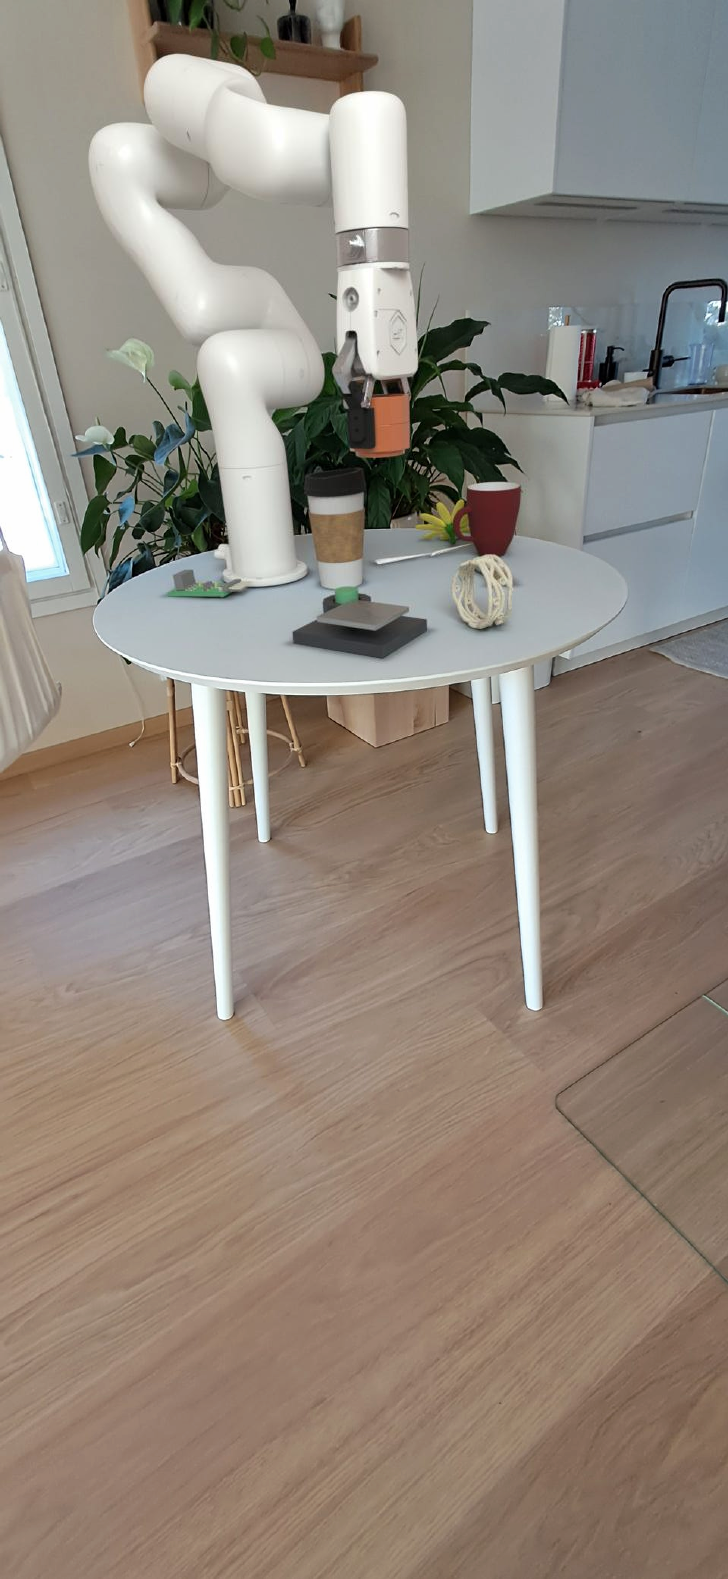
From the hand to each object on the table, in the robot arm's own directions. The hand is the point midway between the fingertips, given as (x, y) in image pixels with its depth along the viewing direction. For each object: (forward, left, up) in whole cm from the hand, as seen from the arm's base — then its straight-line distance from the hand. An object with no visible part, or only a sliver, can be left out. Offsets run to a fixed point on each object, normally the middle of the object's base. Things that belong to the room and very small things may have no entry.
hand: (379, 442), depth 87 cm
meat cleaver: (+7, +21, -19) cm, 29 cm away
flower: (-12, +30, -15) cm, 36 cm away
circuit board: (-27, 0, -18) cm, 33 cm away
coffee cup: (-12, +8, -19) cm, 24 cm away
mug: (0, +30, -20) cm, 36 cm away
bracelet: (+14, -2, -20) cm, 24 cm away
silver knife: (-2, +34, -18) cm, 39 cm away
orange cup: (0, 0, -1) cm, 1 cm away
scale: (+3, -11, -19) cm, 22 cm away
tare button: (-1, -7, -17) cm, 18 cm away
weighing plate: (+4, -12, -16) cm, 21 cm away
